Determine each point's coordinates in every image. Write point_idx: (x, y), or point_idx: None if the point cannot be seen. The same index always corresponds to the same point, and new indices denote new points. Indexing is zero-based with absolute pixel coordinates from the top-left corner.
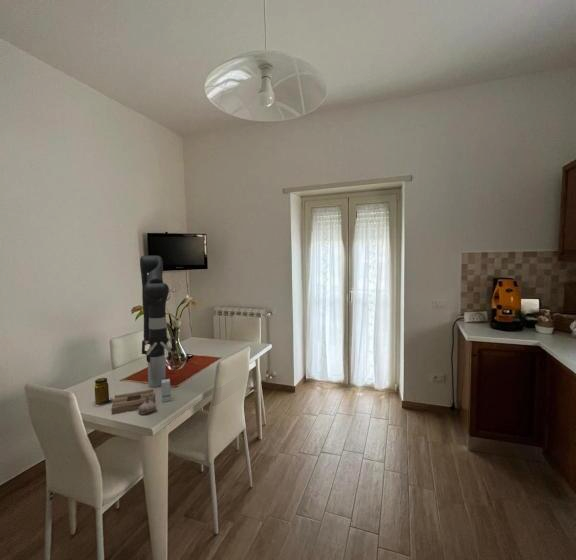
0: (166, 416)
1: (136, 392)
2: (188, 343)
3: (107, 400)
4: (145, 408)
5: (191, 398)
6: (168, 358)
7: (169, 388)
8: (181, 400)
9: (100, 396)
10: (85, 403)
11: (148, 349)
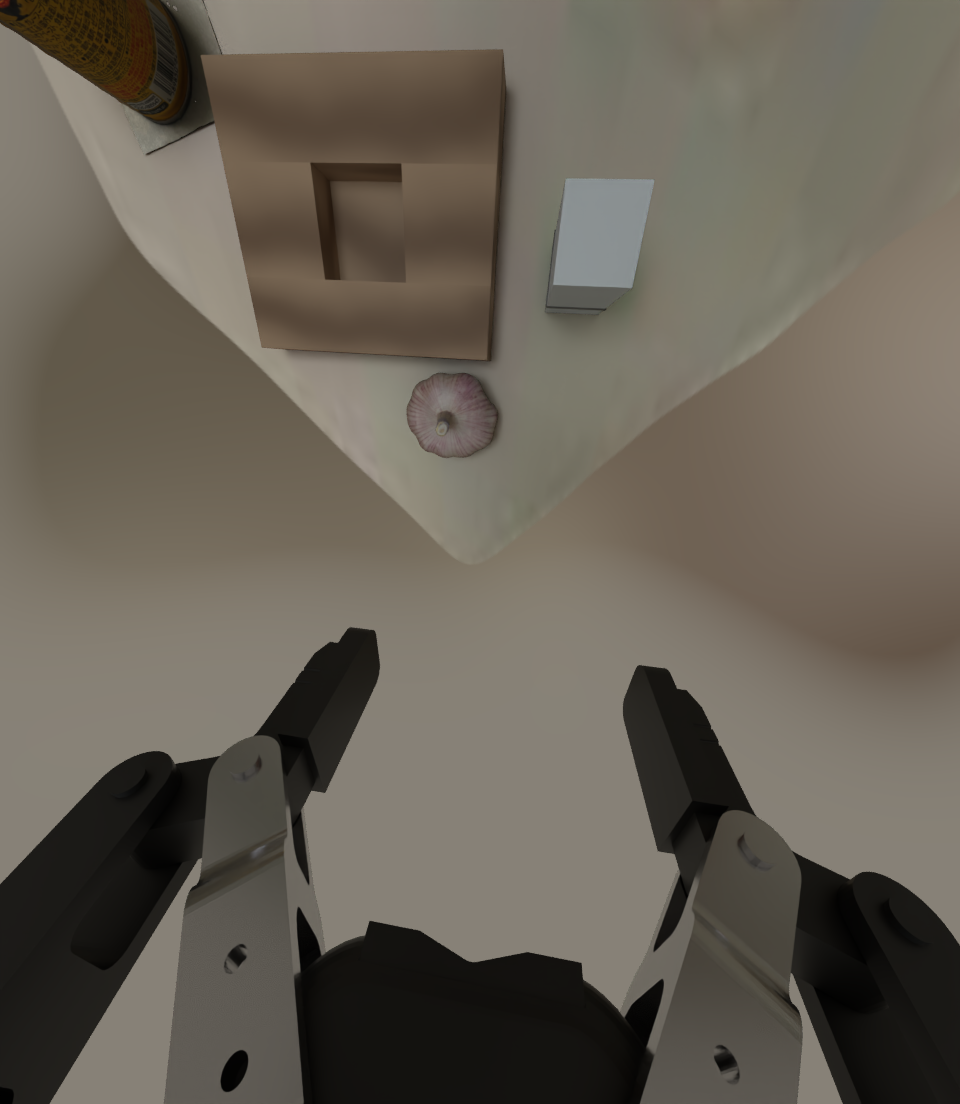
0: (534, 513)
1: (362, 71)
2: None
3: (176, 84)
4: (441, 455)
5: (724, 351)
6: (629, 735)
7: (609, 300)
8: (656, 351)
9: (95, 80)
10: None
11: (214, 871)
